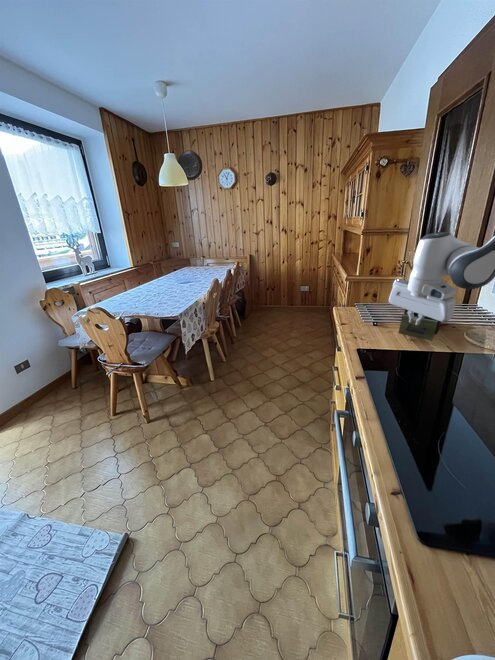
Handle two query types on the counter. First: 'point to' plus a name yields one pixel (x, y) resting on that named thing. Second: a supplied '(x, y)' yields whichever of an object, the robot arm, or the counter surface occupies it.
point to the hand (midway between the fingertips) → (414, 323)
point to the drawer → (418, 327)
